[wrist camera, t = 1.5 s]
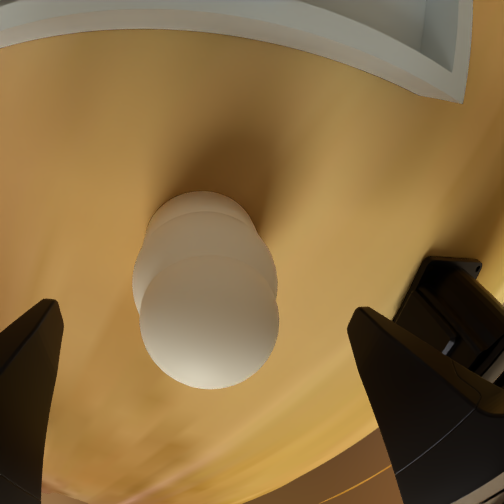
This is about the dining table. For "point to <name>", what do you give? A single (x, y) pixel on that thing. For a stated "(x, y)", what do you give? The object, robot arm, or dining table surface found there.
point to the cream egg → (206, 291)
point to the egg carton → (287, 30)
